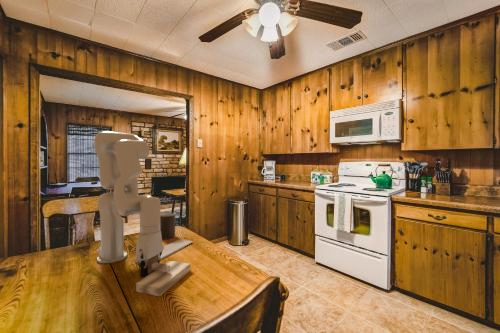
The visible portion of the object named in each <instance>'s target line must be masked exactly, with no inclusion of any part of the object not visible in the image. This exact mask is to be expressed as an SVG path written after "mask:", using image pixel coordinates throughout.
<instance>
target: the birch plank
mask: <svg viewBox="0 0 500 333" xmlns="http://www.w3.org/2000/svg"><path fill="white" fill-rule="evenodd" d="M165 264H167V265H170V270H169V271H168V272H163V271H157V270H155V271H154V272H152V273H151V274H149V275H148V276H146V277H145V278H143V279H142V278H141V279H140V280H139V281H137V282H136V283H135V286H136V287H135V292H138V293H141V294H147V295H152V296H157V297H161V296H162V295H164V293H166V292H167V291H168V290H169V289H171V288H172V287H173V286H174V285H175V284H176V283H178V282H179V281H180V280H181V279H183V278H184V277H185V276H186V275H188V274H189V272H190V271H191V263H189V262H182V261H175V260H174V261H173V260H169V261H167V262H166V263H165Z"/></svg>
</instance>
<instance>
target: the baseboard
mask: <svg viewBox="0 0 500 333" xmlns="http://www.w3.org/2000/svg"><path fill="white" fill-rule="evenodd" d="M192 242H193V243H194V240H189V239H188V238H187V237H183V238H180V237H179V236H178V237H177V239H176V240H175V241H173V242H171V243H169V244H168V243H167V244H166V245H164V246H163V247H164V249H163V251H162V254H161V256H160V257H161V259H160V261H161V260H164V259H165V258H167V257H169V256H171V255H173V254H174V253H176V252H178V251H180V249H181V250H182V249H184V248H186V247H188V246H190V245H191V244H190V243H192ZM193 243H192V244H193ZM189 244H190V245H189ZM187 245H188V246H187ZM185 246H186V247H185ZM135 260H136V259H134V260H133V261H134V262H135Z"/></svg>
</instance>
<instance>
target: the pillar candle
mask: <svg viewBox="0 0 500 333" xmlns="http://www.w3.org/2000/svg"><path fill="white" fill-rule="evenodd" d="M160 230H161V236H162V240H169V238H170V239H173V238H172V237H174V236H175V237H176V214H175V213H172V212H166V213H165V212H163V213H160ZM175 237H174V238H175Z"/></svg>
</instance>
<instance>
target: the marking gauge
mask: <svg viewBox="0 0 500 333" xmlns="http://www.w3.org/2000/svg"><path fill="white" fill-rule="evenodd" d="M143 263H145V261H143ZM147 267H148V275H149V274H151V273H152V272H154V271H155V270H157V271H163V272H168V271H169V270H170V265H167V264H166V263H158V255H156V256H154V257H152V258H151V259H149V260H148V264H147ZM143 278H144V277H141V280H142V279H143Z"/></svg>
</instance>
